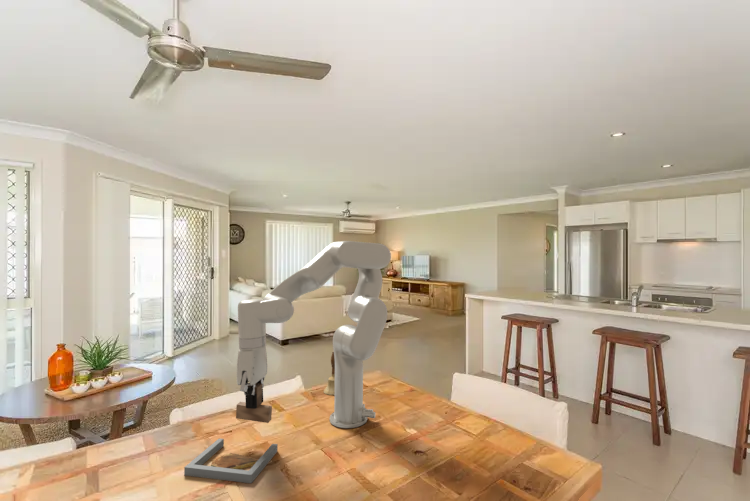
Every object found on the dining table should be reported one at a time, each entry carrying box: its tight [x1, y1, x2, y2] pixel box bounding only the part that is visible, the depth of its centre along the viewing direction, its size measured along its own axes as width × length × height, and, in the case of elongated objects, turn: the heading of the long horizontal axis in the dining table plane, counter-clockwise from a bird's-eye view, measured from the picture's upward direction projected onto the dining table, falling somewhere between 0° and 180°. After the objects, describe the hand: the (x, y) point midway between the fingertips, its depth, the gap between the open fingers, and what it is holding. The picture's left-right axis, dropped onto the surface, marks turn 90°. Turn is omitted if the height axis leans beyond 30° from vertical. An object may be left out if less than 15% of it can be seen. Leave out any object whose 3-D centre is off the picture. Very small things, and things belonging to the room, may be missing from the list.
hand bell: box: [323, 351, 335, 396], centre depth 146 cm, size 8×8×16 cm
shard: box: [210, 452, 260, 470], centre depth 93 cm, size 11×8×2 cm
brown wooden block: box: [235, 383, 273, 424], centre depth 104 cm, size 10×3×10 cm, turn 81°
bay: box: [183, 438, 279, 484], centre depth 95 cm, size 18×14×2 cm
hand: (254, 404), depth 104 cm, fingers closed on brown wooden block, 3 cm apart
